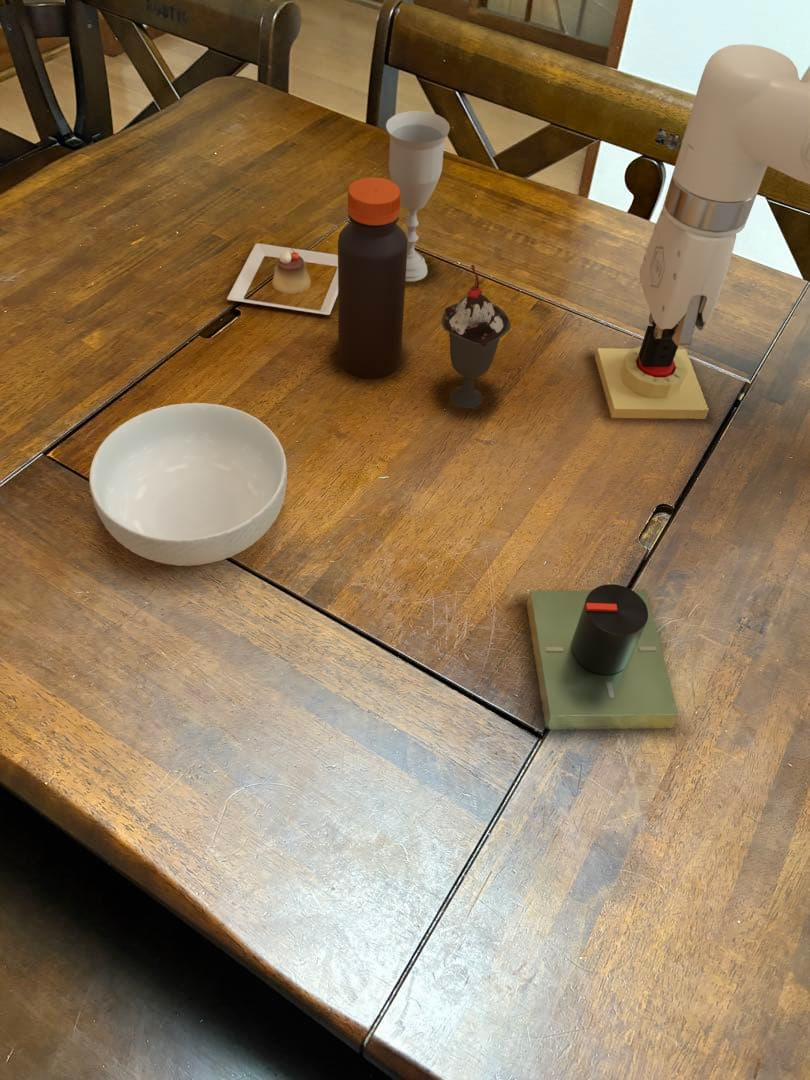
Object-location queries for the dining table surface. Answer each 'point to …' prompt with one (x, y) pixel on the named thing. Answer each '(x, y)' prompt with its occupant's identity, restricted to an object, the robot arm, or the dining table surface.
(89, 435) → the dining table surface
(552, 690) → the panel
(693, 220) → the robot arm
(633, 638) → the hob knob
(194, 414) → the cereal bowl
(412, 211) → the chalice
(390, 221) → the bottle
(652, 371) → the button
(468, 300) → the sundae
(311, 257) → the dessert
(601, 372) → the switch
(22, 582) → the dining table surface
